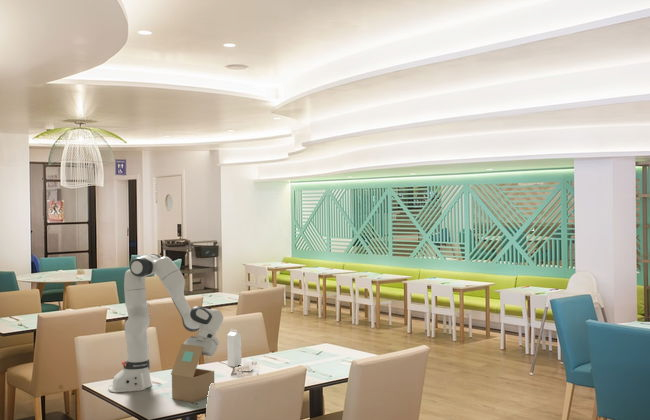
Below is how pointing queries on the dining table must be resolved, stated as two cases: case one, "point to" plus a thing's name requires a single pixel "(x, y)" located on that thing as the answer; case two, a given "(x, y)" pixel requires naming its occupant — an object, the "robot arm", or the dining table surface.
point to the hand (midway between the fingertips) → (191, 360)
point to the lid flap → (187, 360)
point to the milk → (234, 348)
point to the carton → (192, 386)
